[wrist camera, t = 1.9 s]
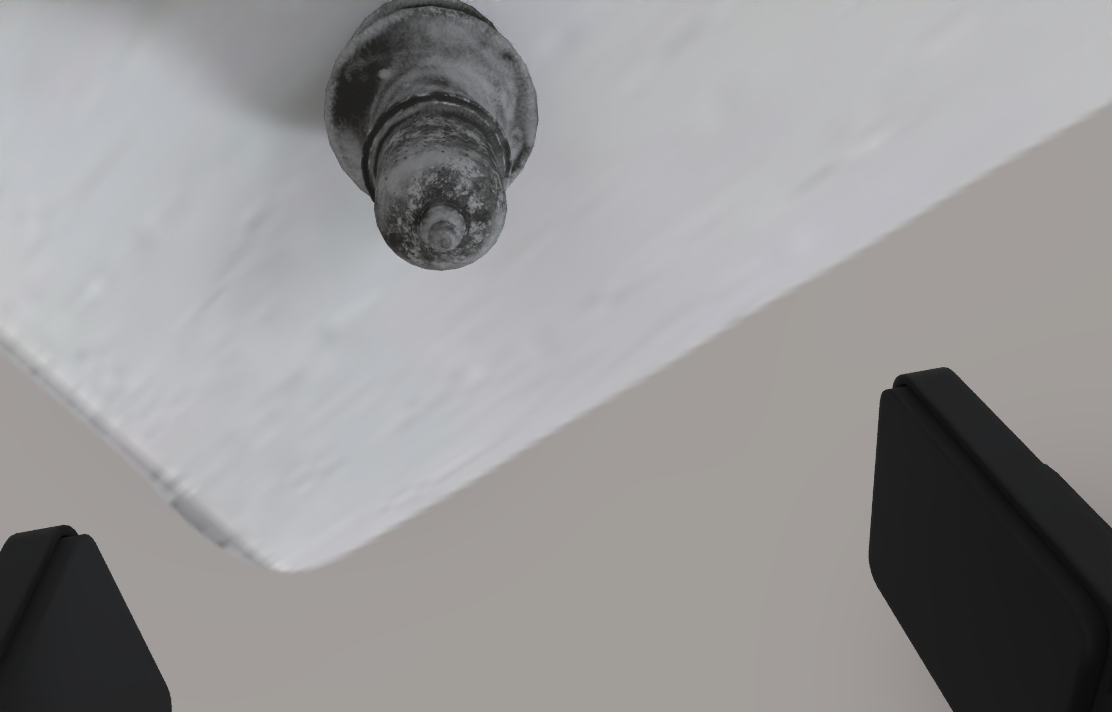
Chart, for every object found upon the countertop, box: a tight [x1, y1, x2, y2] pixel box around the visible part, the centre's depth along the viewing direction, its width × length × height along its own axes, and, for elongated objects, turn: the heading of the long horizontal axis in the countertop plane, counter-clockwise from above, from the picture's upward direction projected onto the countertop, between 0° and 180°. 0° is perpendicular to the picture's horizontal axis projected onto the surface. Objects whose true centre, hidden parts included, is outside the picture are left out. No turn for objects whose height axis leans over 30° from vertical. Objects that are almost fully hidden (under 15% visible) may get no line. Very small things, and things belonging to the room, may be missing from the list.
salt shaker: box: [324, 0, 538, 271], centre depth 24 cm, size 6×6×12 cm
